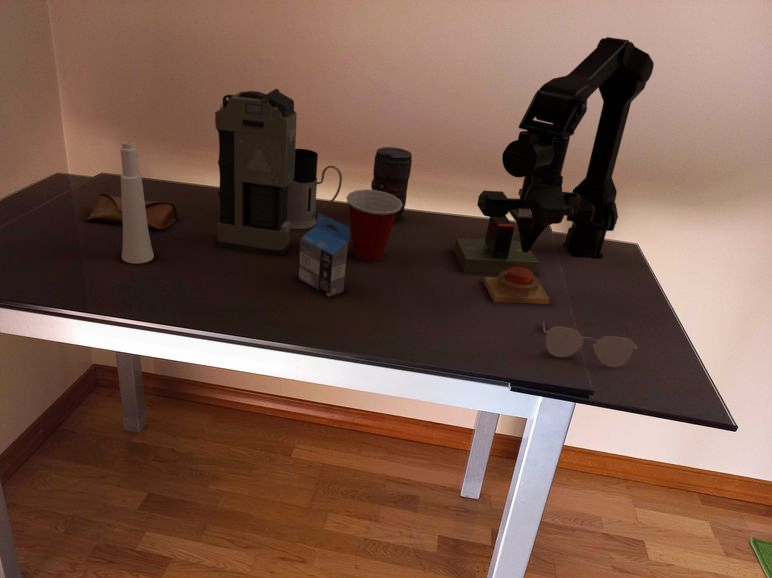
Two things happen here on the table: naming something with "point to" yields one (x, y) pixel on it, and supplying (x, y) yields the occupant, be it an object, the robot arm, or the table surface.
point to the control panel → (491, 257)
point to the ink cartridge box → (324, 256)
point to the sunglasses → (606, 348)
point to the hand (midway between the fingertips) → (524, 251)
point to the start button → (519, 275)
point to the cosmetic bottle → (133, 209)
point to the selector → (499, 236)
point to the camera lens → (392, 173)
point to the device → (255, 170)
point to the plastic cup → (371, 222)
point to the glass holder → (305, 190)
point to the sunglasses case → (111, 212)
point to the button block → (515, 290)
